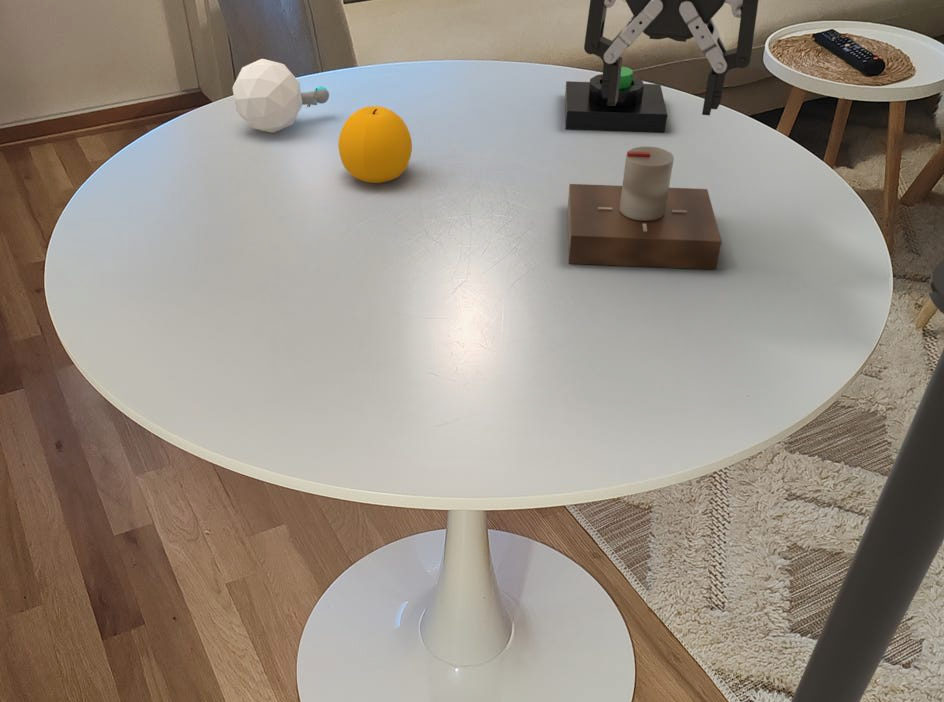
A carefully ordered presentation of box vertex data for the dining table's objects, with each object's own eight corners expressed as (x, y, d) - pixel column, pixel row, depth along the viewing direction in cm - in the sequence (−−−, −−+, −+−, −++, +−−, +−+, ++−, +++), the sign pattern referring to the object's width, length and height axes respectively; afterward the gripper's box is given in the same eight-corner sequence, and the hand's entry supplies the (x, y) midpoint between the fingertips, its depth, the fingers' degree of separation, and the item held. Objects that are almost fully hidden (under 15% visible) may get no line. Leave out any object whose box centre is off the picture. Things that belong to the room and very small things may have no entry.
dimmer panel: (702, 216, 96) (707, 187, 94) (715, 269, 88) (722, 239, 86) (567, 210, 96) (569, 182, 94) (568, 263, 88) (571, 233, 86)
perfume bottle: (215, 91, 111) (304, 83, 117) (241, 150, 110) (329, 139, 116) (229, 45, 104) (323, 40, 110) (256, 107, 103) (349, 99, 109)
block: (657, 101, 119) (662, 69, 116) (664, 132, 112) (669, 99, 109) (564, 98, 120) (567, 66, 117) (565, 129, 112) (568, 95, 110)
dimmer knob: (661, 200, 92) (671, 143, 88) (667, 221, 88) (677, 163, 84) (617, 199, 92) (624, 142, 88) (621, 220, 88) (629, 162, 85)
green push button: (630, 80, 114) (632, 66, 113) (632, 91, 112) (634, 76, 111) (601, 79, 115) (602, 65, 113) (602, 90, 112) (603, 75, 111)
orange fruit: (369, 155, 106) (365, 89, 101) (426, 171, 103) (425, 103, 98) (326, 181, 101) (319, 112, 96) (385, 198, 98) (381, 128, 93)
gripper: (589, -93, 72) (574, 115, 83) (778, -83, 69) (736, 132, 80) (605, -113, 77) (589, 85, 88) (781, -104, 74) (742, 100, 85)
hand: (659, 107), depth 84 cm, fingers open, 8 cm apart
